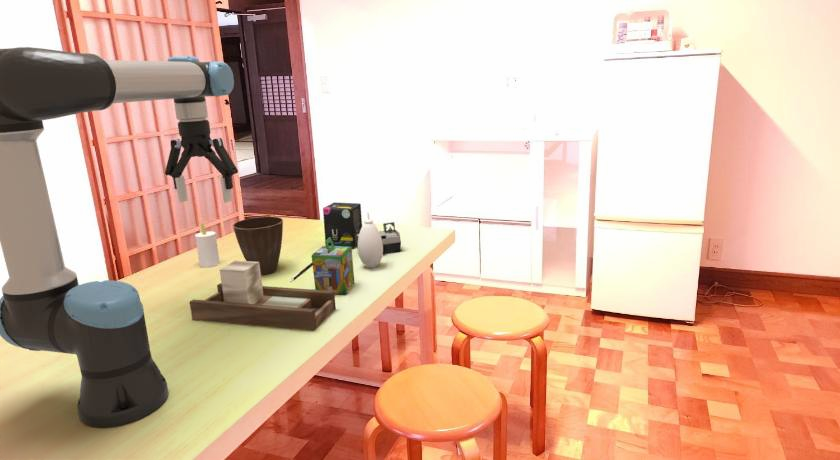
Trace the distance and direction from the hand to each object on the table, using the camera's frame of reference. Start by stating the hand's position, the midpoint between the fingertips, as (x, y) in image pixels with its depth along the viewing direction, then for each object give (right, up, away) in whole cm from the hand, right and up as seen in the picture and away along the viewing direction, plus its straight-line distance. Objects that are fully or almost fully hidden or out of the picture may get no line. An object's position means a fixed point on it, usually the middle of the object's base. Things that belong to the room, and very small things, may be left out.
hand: (205, 201), depth 146 cm
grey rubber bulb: (+42, -19, +28) cm, 54 cm away
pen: (+20, -21, +27) cm, 40 cm away
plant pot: (+7, -21, +29) cm, 36 cm away
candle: (-13, -19, +37) cm, 44 cm away
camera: (+43, -16, +42) cm, 62 cm away
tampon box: (+30, -13, +53) cm, 62 cm away
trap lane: (+16, -29, -3) cm, 33 cm away
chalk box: (+33, -25, +12) cm, 43 cm away
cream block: (+11, -26, -3) cm, 29 cm away
